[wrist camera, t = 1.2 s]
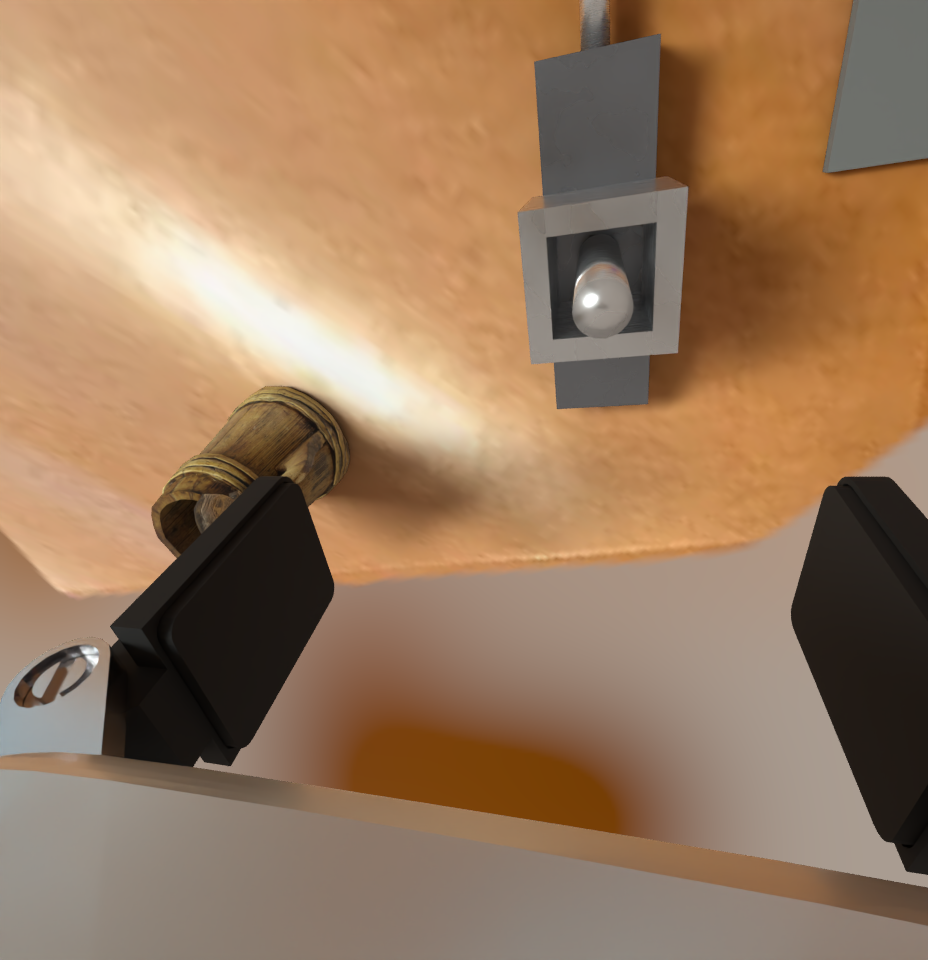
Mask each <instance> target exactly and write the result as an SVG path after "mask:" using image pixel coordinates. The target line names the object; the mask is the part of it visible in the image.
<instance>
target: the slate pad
mask: <svg viewBox="0 0 928 960" xmlns="http://www.w3.org/2000/svg"><path fill="white" fill-rule="evenodd" d="M925 158H928V0H853V6H852V11H851V17H850V23H849V28H848V34H847V39H846V45H845V50H844V56H843V62H842V67H841V73H840V78H839V84H838V89H837V95H836V100H835V106H834V112H833V117H832V123H831V128H830V134H829V139H828V145H827V151H826V156H825V162H824V167H823V172H825V173H830V172H837V171H843V170H850V169H857V168H864V167H870V166H877V165H884V164H891V163H897V162H904V161H911V160H918V159H925Z"/></svg>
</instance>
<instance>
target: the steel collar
mask: <svg viewBox="0 0 928 960" xmlns="http://www.w3.org/2000/svg"><path fill="white" fill-rule="evenodd" d="M687 201H688V186H686V185H684V184H682V183H680V182H678V181H676V180H674V179H673V178H671V177H669V176H665V177H659V178H652V179H646V180H640V181H633V182H627V183H620V184H614V185H608V186H601V187H595V188H589V189H582V190H576V191H570V192H563V193H557V194H551V195H544V196H538V197H532V198H531V199H530V200H529V201H528V202H527V203H526V204H525V205H524V206H523V207H522V208H521V209H520V210H519V212H518V222H519V233H520V244H521V256H522V267H523V278H524V289H525V301H526V312H527V323H528V334H529V345H530V357H531V364H540V363H553V362H566V361H580V360H593V359H606V358H619V357H632V356H645V355H658V354H671V353H678V343H679V327H680V311H681V295H682V280H683V264H684V248H685V232H686V217H687ZM640 224H643V240H642V282H641V294H639V295H632V299H633V313H632V317H631V319H630V321H629V323H628V324H627V326H626V327H625V328H624V329H623V330H622V331H621V332H619V333H618V334H616V335H614V336H612V337H609V338H604V339H597V338H592V337H589V336H587V335H585V334H584V333H582V332H581V331H580V330H579V329H578V328H577V326H576V324H575V322H574V319H573V314H572V308H573V301H572V302H563V303H560V297H559V279H558V261H557V243H556V236H560V235H567V234H574V233H582V232H589V231H596V230H604V229H611V228H618V227H626V226H633V225H640Z"/></svg>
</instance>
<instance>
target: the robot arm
mask: <svg viewBox="0 0 928 960" xmlns="http://www.w3.org/2000/svg"><path fill="white" fill-rule="evenodd" d="M333 594H334V581H333V578H332V575H331V572H330V570H329V567H328V564H327V561H326V558H325V555H324V552H323V549H322V547H321V544H320V541H319V538H318V535H317V532H316V529H315V527H314V524H313V521H312V518H311V515H310V512H309V509H308V506H307V504H306V501H305V498H304V495H303V492H302V490H301V488H300V486H299V485H298V484H295V483H294V482H293V480H292V479H291V478H289V477H287V476H262V477H258V478H257V479H255V480H254V481H253V482H252V483H251V484H250V485H249V486H248V487H247V488H246V489H245V491H244V492H243V493H242V494H241V495H240V496H239V497H238V498H237V499H236V500H235V501H234V502H233V503H232V504H231V505H230V506H229V507H228V508H227V509H226V510H225V511H224V512H223V513H222V514H221V515H220V516H219V517H218V518H217V519H216V520H215V521H214V522H213V523H212V524H211V525H210V526H209V527H208V528H207V529H206V530H205V531H204V532H203V533H202V534H201V535H200V536H199V537H198V538H197V539H196V540H195V541H194V542H193V543H192V544H191V545H190V546H189V547H188V548H187V549H186V550H185V551H184V552H183V553H182V554H181V555H180V556H179V557H178V558H177V559H176V560H175V561H174V562H173V563H172V564H171V565H170V566H169V567H168V568H167V569H166V570H165V571H164V572H163V573H162V574H161V575H160V576H159V577H158V578H157V579H156V580H155V581H154V582H153V583H152V584H151V585H150V586H149V587H148V588H147V589H146V590H145V591H144V592H143V593H142V594H141V595H140V596H139V597H138V598H137V599H136V600H135V601H134V603H132V604H131V606H130V607H129V608H128V609H127V610H126V611H125V612H124V613H123V614H122V615H121V616H120V617H119V618H118V619H117V620H116V621H115V622H114V623H113V624H112V625H111V626H110V627H111V629H112V630H113V631H114V633H115V634H116V636H117V637H118V638H119V640H118V641H117V642H116V643H115V644H114V645H113V646H112V647H110V645H109V644H108V643H107V642H105V641H104V640H103V639H101V638H95V637H87V638H79V639H76V640H72V641H69V642H66V643H63V644H61V645H59V646H57V647H55V648H53V649H51V650H49V651H47V652H45V653H44V654H42V655H41V656H39V657H38V658H36V659H35V660H33V661H32V662H31V663H29V664H28V665H27V666H26V667H25V668H24V669H22V670H21V671H20V672H19V673H18V674H17V675H16V676H15V678H14V679H13V680H12V681H11V682H10V683H9V685H8V686H7V688H6V690H5V692H4V694H3V696H2V698H1V702H0V960H928V888H927V887H921V886H916V885H910V884H905V883H899V882H894V881H888V880H882V879H877V878H871V877H866V876H860V875H855V874H849V873H844V872H838V871H833V870H827V869H822V868H816V867H810V866H805V865H799V864H794V863H788V862H782V861H777V860H771V859H765V858H759V857H753V856H747V855H741V854H734V853H728V852H722V851H716V850H710V849H704V848H698V847H691V846H686V845H680V844H674V843H667V842H662V841H655V840H649V839H643V838H637V837H631V836H625V835H619V834H613V833H606V832H601V831H594V830H588V829H582V828H576V827H570V826H564V825H558V824H552V823H545V822H539V821H532V820H527V819H520V818H514V817H508V816H502V815H495V814H489V813H483V812H477V811H470V810H464V809H458V808H452V807H445V806H439V805H432V804H426V803H420V802H414V801H408V800H401V799H395V798H389V797H381V796H376V795H370V794H363V793H357V792H351V791H344V790H338V789H331V788H325V787H318V786H312V785H306V784H299V783H292V782H286V781H279V780H273V779H266V778H260V777H253V776H246V775H240V774H234V773H227V772H221V771H214V770H208V769H201V768H194V767H193V766H194V764H195V763H196V761H197V760H198V758H199V757H201V758H202V760H203V761H204V762H207V763H213V764H220V765H226V766H231V765H232V763H233V761H234V760H235V758H236V756H237V754H238V753H239V751H240V749H241V748H244V747H246V746H247V745H248V744H249V743H250V742H251V740H252V739H253V737H254V736H255V734H256V732H257V730H258V729H259V727H260V725H261V723H262V721H263V720H264V718H265V716H266V714H267V713H268V711H269V709H270V707H271V706H272V704H273V702H274V700H275V699H276V696H277V695H278V693H279V691H280V690H281V688H282V686H283V684H284V683H285V681H286V679H287V677H288V676H289V674H290V672H291V670H292V669H293V667H294V665H295V663H296V662H297V660H298V658H299V656H300V654H301V653H302V651H303V649H304V647H305V646H306V644H307V642H308V640H309V639H310V637H311V635H312V633H313V632H314V630H315V628H316V626H317V624H318V623H319V621H320V619H321V617H322V615H323V614H324V612H325V610H326V609H327V607H328V605H329V603H330V602H331V600H332V597H333ZM791 620H792V625H793V629H794V631H795V634H796V636H797V639H798V641H799V643H800V646H801V648H802V651H803V653H804V655H805V658H806V660H807V663H808V665H809V668H810V670H811V673H812V675H813V677H814V680H815V682H816V685H817V687H818V690H819V692H820V695H821V697H822V699H823V702H824V704H825V707H826V709H827V712H828V714H829V716H830V719H831V721H832V724H833V726H834V729H835V731H836V734H837V736H838V738H839V741H840V743H841V746H842V748H843V751H844V753H845V756H846V758H847V760H848V763H849V765H850V768H851V770H852V773H853V775H854V777H855V780H856V782H857V785H858V787H859V790H860V792H861V795H862V797H863V799H864V802H865V804H866V807H867V809H868V812H869V814H870V816H871V819H872V821H873V824H874V826H875V828H876V830H877V832H878V834H879V835H880V836H881V838H882V839H883V840H885V841H886V842H892V843H894V844H895V846H896V848H897V851H898V853H899V855H900V858H901V860H902V863H903V865H904V867H905V870H906V871H907V872H914V873H919V874H926V875H928V519H927V518H926V517H925V516H924V514H923V513H922V512H921V511H920V510H919V509H918V508H917V507H916V505H915V504H914V503H913V502H912V501H911V500H910V499H909V497H907V495H906V494H905V493H904V492H903V491H902V490H901V489H900V487H899V486H898V485H897V484H896V483H895V482H894V481H893V480H892V479H891V478H889V477H844V478H842V479H841V480H840V481H839V482H838V484H837V486H829V487H827V488H826V490H825V492H824V494H823V498H822V501H821V505H820V508H819V512H818V515H817V519H816V523H815V526H814V530H813V533H812V537H811V540H810V544H809V547H808V550H807V554H806V558H805V561H804V565H803V568H802V572H801V575H800V579H799V582H798V586H797V589H796V593H795V597H794V600H793V603H792V608H791Z"/></svg>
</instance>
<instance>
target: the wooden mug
mask: <svg viewBox="0 0 928 960" xmlns="http://www.w3.org/2000/svg"><path fill="white" fill-rule="evenodd" d="M349 461H350V454H349V448H348V443H347V441H346V439H345V437H344V435H343V433H342V431H341V429H340V427H339V426H338V424H337V422H336V421H335V419H334V418H333V416H332V415H331V414H330V413H329V412H328V411H327V410H326V409H325V408H324V407H323V406H321V405H320V404H319V403H318V402H316V401H315V400H313V399H312V398H310V397H309V396H307V395H306V394H304V393H302V392H299V391H297V390H294V389H292V388H289V387H270V386H265V387H264V388H262V389H260V390H259V391H257V392H255V393H254V394H253V395H251V396H250V397H249V398H247V399H246V400H245V401H244V402H243V403H242V404H240V405H239V406H238V407H237V408H236V409H235V410H234V412H233V413H232V414H231V416H230V417H229V418H228V422H227V423H226V425H225V426H224V427H223V428H222V429H221V430H220V431H219V433H218V434H217V435H216V436H215V437H214V438H213V440H212V441H211V442H210V443H209V444H208V445H207V446H206V448H205V449H204V450H203V451H202V452H201V453H200V454H199V455H196V456H194V457H192V458H191V459H190V460H188V461H187V462H185V463H184V464H182V466H181V467H180V468H179V469H178V471H177V472H176V473H175V474H174V475H173V477H172V478H171V479H170V480H169V482H168V483H167V484H166V486H165V487H164V488H163V493H162V495H161V497H160V498H159V499H158V500H157V501H156V503H155V504H154V505H153V506H152V515H151V516H152V521H153V526H154V529H155V531H156V534H157V536H158V538H159V539H160V540H161V542H162V543H163V544H164V545H165V546H166V547H167V548H168V549H169V550H170V551H171V552H172V554H173V555H174V556H175V557H176V558H178V557H179V556H180V555H181V554H182V553H183V552H184V551H185V550H186V549H187V548H188V547H189V546H190V545H191V544H192V543H193V542H194V541H195V540H196V539H197V538H198V537H199V536H200V535H201V534H202V533H203V532H204V531H205V530H206V529H207V528H208V527H209V526H210V525H211V524H212V523H213V522H214V521H215V520H216V519H217V518H218V517H219V516H220V515H221V514H222V513H223V512H224V511H225V510H226V509H227V508H228V507H229V506H230V505H231V504H232V503H233V502H234V501H235V500H236V499H237V498H238V497H239V496H240V495H241V494H242V493H243V492H244V491H245V489H246V488H247V487H248V486H249V485H250V484H251V483H252V482H253V481H254V480H255V479H257V478H258V477H262V476H287V477H289V478H291V479H292V480H293V482H294V483H295V484H298V485H299V486H300V488H301V490H302V492H303V495H304V498H305V501H306V504H307V506H310V505H311V504H312V503H313V502H314V501H315V500H317V499H320V498H322V497H324V496H325V495H327V494H328V493H329V492H330V491H331V490H332V489H333V488H334V487H335V486H336V485H337V484H338V483H339V482H340V480H341V479H342V477H343V476H344V475H345V473H346V472H347V469H348V465H349Z"/></svg>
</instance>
